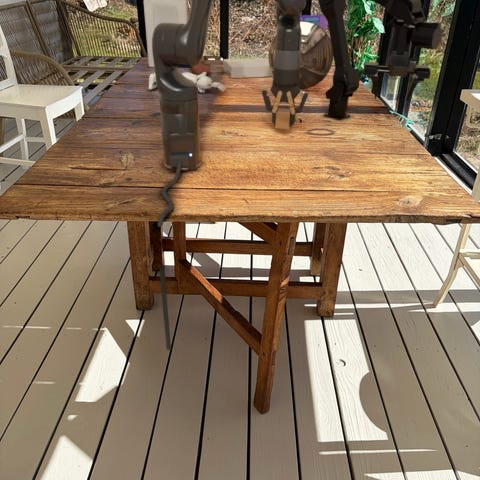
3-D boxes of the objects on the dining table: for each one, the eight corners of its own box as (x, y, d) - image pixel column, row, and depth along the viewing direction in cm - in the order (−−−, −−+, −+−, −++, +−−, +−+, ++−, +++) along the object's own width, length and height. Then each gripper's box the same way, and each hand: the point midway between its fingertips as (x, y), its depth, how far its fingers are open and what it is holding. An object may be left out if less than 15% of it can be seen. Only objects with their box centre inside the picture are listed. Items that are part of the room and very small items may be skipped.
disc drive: (281, 76, 210) (281, 64, 208) (231, 78, 206) (231, 66, 203) (269, 68, 225) (270, 57, 222) (223, 70, 220) (223, 58, 218)
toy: (168, 102, 172) (167, 83, 168) (144, 87, 190) (143, 69, 186) (228, 94, 182) (228, 76, 179) (199, 80, 201) (199, 63, 197)
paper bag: (192, 61, 237) (190, -2, 222) (188, 67, 224) (186, 1, 210) (154, 60, 237) (149, -3, 223) (148, 66, 225) (143, 0, 210)
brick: (277, 123, 146) (278, 107, 143) (290, 124, 145) (291, 108, 142) (275, 128, 142) (276, 112, 139) (288, 129, 141) (289, 113, 138)
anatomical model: (204, 86, 208) (191, 72, 218) (219, 73, 207) (206, 59, 217) (188, 66, 199) (175, 52, 208) (204, 52, 198) (190, 38, 207)
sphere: (332, 84, 199) (340, 18, 186) (325, 99, 179) (333, 26, 166) (274, 79, 205) (277, 15, 192) (260, 93, 184) (263, 23, 171)
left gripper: (259, 67, 132) (257, 127, 141) (311, 70, 130) (305, 131, 139) (264, 61, 138) (262, 119, 147) (313, 64, 136) (308, 123, 145)
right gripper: (367, 47, 132) (359, 104, 140) (438, 51, 129) (426, 109, 137) (367, 41, 141) (359, 95, 149) (433, 44, 138) (421, 99, 146)
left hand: (283, 125), depth 143 cm, fingers closed on brick, 4 cm apart
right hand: (391, 99), depth 145 cm, fingers open, 9 cm apart
